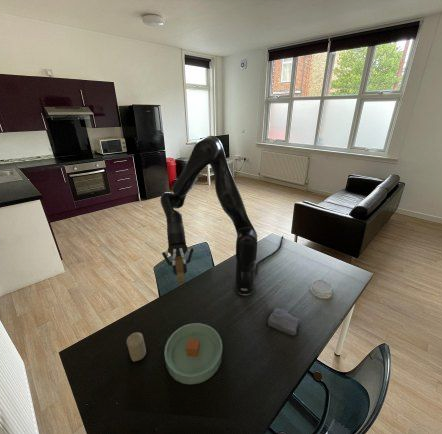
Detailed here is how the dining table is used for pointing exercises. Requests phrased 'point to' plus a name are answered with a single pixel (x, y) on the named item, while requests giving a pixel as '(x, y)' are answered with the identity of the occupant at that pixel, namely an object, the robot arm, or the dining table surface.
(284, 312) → the stone block
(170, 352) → the bowl
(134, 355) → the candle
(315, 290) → the coaster
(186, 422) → the dining table surface
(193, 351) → the block
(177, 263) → the stirrer
